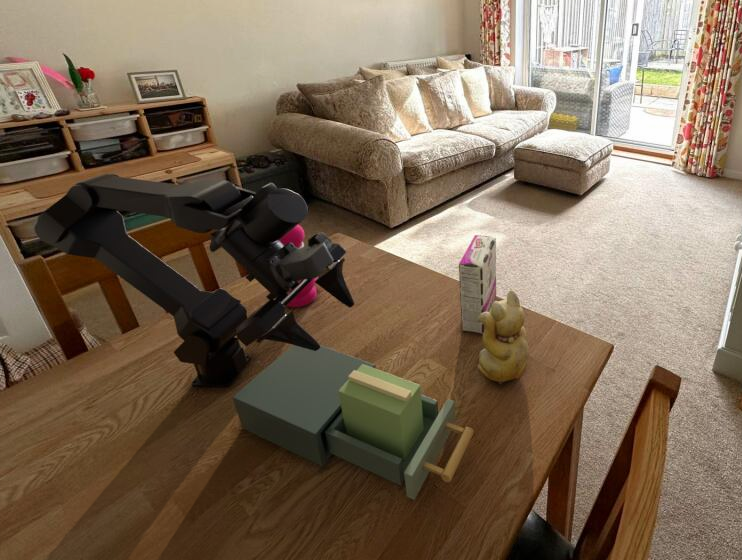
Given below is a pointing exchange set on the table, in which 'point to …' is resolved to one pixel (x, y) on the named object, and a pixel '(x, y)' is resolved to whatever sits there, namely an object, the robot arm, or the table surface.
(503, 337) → the decorative figurine
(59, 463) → the table surface
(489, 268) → the candy bar box
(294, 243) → the pepper mill
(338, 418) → the drawer
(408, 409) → the snack bag
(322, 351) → the cabinet
